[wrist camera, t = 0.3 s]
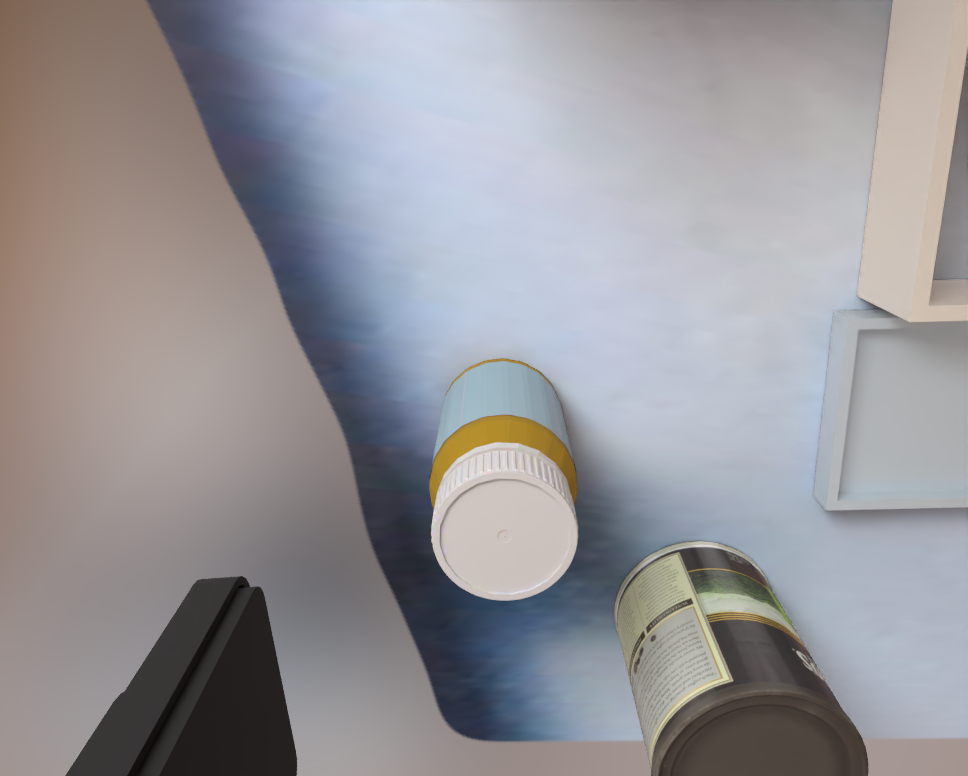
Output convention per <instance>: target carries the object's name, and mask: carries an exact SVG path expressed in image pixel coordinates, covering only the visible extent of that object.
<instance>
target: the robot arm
mask: <svg viewBox="0 0 968 776" xmlns="http://www.w3.org/2000/svg"><path fill="white" fill-rule="evenodd" d="M296 774H297V757H296V750H295V745H294V740H293V735H292V730H291V725H290V720H289V715H288V710H287V705H286V700H285V695H284V690H283V685H282V681H281V676H280V671H279V666H278V661H277V656H276V651H275V646H274V641H273V637H272V631H271V626H270V622H269V616H268V611H267V607H266V602H265V597H264V593H263V591H262V589H261V588H260V587H250V585H249V583H248V581H247V580H246V578H244V577H243V576H240V577H226V578H212V579H201V580H197V581H196V583H195V584H194V585H193V586H192V588H191V590H190V591H189V593H188V594H187V596H186V597H185V599H184V600H183V602H182V603H181V605H180V606H179V608H178V610H177V611H176V613H175V615H174V616H173V617H172V619H171V620H170V622H169V624H168V625H167V627H166V628H165V630H164V631H163V633H162V635H161V636H160V638H159V639H158V641H157V642H156V644H155V646H154V647H153V648H152V650H151V652H150V653H149V655H148V656H147V658H146V659H145V661H144V662H143V664H142V666H141V667H140V668H139V670H138V672H137V673H136V675H135V676H134V678H133V679H132V681H131V682H130V684H129V686H128V687H127V689H126V690H125V692H123V693H121V694H120V695H119V697H118V698H117V699H116V700H115V701H114V702H113V704H112V705H111V707H110V708H109V710H108V711H107V713H106V715H105V716H104V718H103V719H102V721H101V722H100V724H99V725H98V727H97V729H96V730H95V731H94V733H93V734H92V736H91V738H90V739H89V740H88V742H87V743H86V745H85V747H84V748H83V750H82V751H81V753H80V754H79V756H78V758H77V759H76V761H75V762H74V763H73V765H72V767H71V768H70V770H69V771H68V773H67V774H66V776H296Z"/></svg>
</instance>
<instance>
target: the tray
mask: <svg viewBox="0 0 968 776" xmlns="http://www.w3.org/2000/svg"><path fill="white" fill-rule="evenodd" d="M813 496H814V497H815V498H816V500H817V501H818V502H819V503H820V504H821V505H822V507H823V508H824V509H825V510H826V511H831V510H874V509H918V508H961V507H968V321H934V322H908V321H906V320H904V319H902V318H900V317H898V316H896V315H894V314H892V313H890V312H888V311H886V310H884V309H876V310H840V311H834V314H833V322H832V331H831V340H830V349H829V358H828V367H827V376H826V384H825V393H824V402H823V411H822V420H821V429H820V438H819V446H818V455H817V464H816V473H815V482H814V491H813Z"/></svg>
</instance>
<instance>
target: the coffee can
mask: <svg viewBox="0 0 968 776" xmlns="http://www.w3.org/2000/svg"><path fill="white" fill-rule="evenodd" d="M614 610H615V612H614V617H615V625H616V629H617V634H618V636H619V638H620V641H621V645H622V649H623V654H624V658H625V662H626V666H627V670H628V674H629V678H630V683H631V687H632V692H633V696H634V700H635V704H636V708H637V713H638V717H639V721H640V725H641V729H642V734H643V738H644V743H645V746H646V750H647V755H648V759H649V763H650V767H651V776H868V758H867V752H866V748H865V745H864V742H863V740H862V737H861V735H860V734H859V732H858V730H857V729H856V727H855V725H854V724H853V723H852V721H851V720H850V718H849V717H848V716H847V715H846V713H845V712H844V711H843V710H842V708H841V707H840V705H839V703H838V701H837V700H836V698H835V696H834V695H833V693H832V691H831V690H830V688H829V686H828V684H827V683H826V681H825V679H824V677H823V676H822V674H821V672H820V671H819V669H818V667H817V666H816V664H815V662H814V661H813V659H812V657H811V656H810V654H809V652H808V651H807V649H806V648H805V646H804V644H803V642H802V641H801V639H800V637H799V636H798V634H797V632H796V630H795V629H794V627H793V625H792V624H791V622H790V620H789V619H788V617H787V615H786V614H785V612H784V610H783V608H782V606H781V605H780V603H779V601H778V600H777V598H776V596H775V595H774V593H773V591H772V589H771V588H770V585H769V582H768V580H767V579H766V577H765V575H764V573H763V572H762V570H761V569H760V568H759V567H758V566H757V565H756V564H755V563H754V562H753V561H752V560H751V559H750V558H749V557H747V556H746V555H745V554H743V553H742V552H740V551H738V550H736V549H734V548H732V547H729V546H726V545H723V544H719V543H714V542H705V541H692V542H683V543H678V544H674V545H670V546H667V547H665V548H663V549H661V550H658V551H656V552H655V553H653V554H651V555H649V556H648V557H646V558H645V559H644V560H642V561H641V562H640V563H639V564H638V565H637V566H636V567H635V568H634V569H633V570H632V571H631V572H630V573H629V574H628V576H627V577H626V578H625V579H624V581H623V583H622V585H621V587H620V590H619V592H618V595H617V598H616V602H615V607H614Z"/></svg>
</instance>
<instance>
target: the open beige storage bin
mask: <svg viewBox="0 0 968 776" xmlns="http://www.w3.org/2000/svg"><path fill="white" fill-rule="evenodd" d="M967 49H968V0H893V3H892V12H891V20H890V28H889V36H888V45H887V53H886V61H885V69H884V77H883V86H882V94H881V102H880V110H879V118H878V127H877V135H876V143H875V151H874V160H873V168H872V176H871V184H870V192H869V201H868V209H867V217H866V225H865V233H864V242H863V250H862V258H861V266H860V275H859V283H858V291H857V296H858V297H860V298H862V299H864V300H866V301H868V302H870V303H872V304H874V305H876V306H878V307H880V308H882V309H884V310H886V311H888V312H890V313H892V314H894V315H896V316H898V317H900V318H902V319H904V320H906V321H908V322H934V321H968V279H951V280H933V273H934V267H935V260H936V253H937V247H938V240H939V234H940V227H941V221H942V214H943V207H944V201H945V194H946V188H947V181H948V174H949V168H950V161H951V155H952V148H953V142H954V135H955V128H956V122H957V115H958V109H959V102H960V95H961V89H962V82H963V76H964V69H965V62H966V56H967Z"/></svg>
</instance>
